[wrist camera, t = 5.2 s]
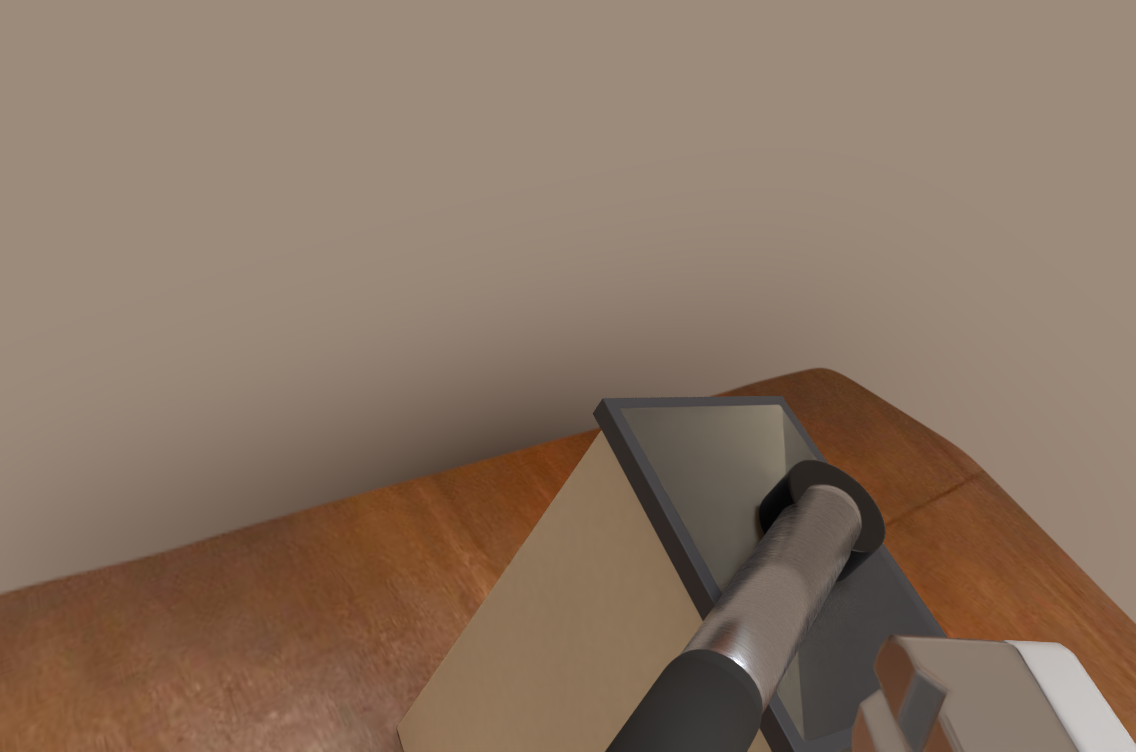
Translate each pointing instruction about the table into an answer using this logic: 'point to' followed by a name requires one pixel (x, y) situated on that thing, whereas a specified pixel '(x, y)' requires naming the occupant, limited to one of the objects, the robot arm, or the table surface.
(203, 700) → the table surface
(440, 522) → the table surface
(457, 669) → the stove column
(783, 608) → the lever
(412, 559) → the table surface
